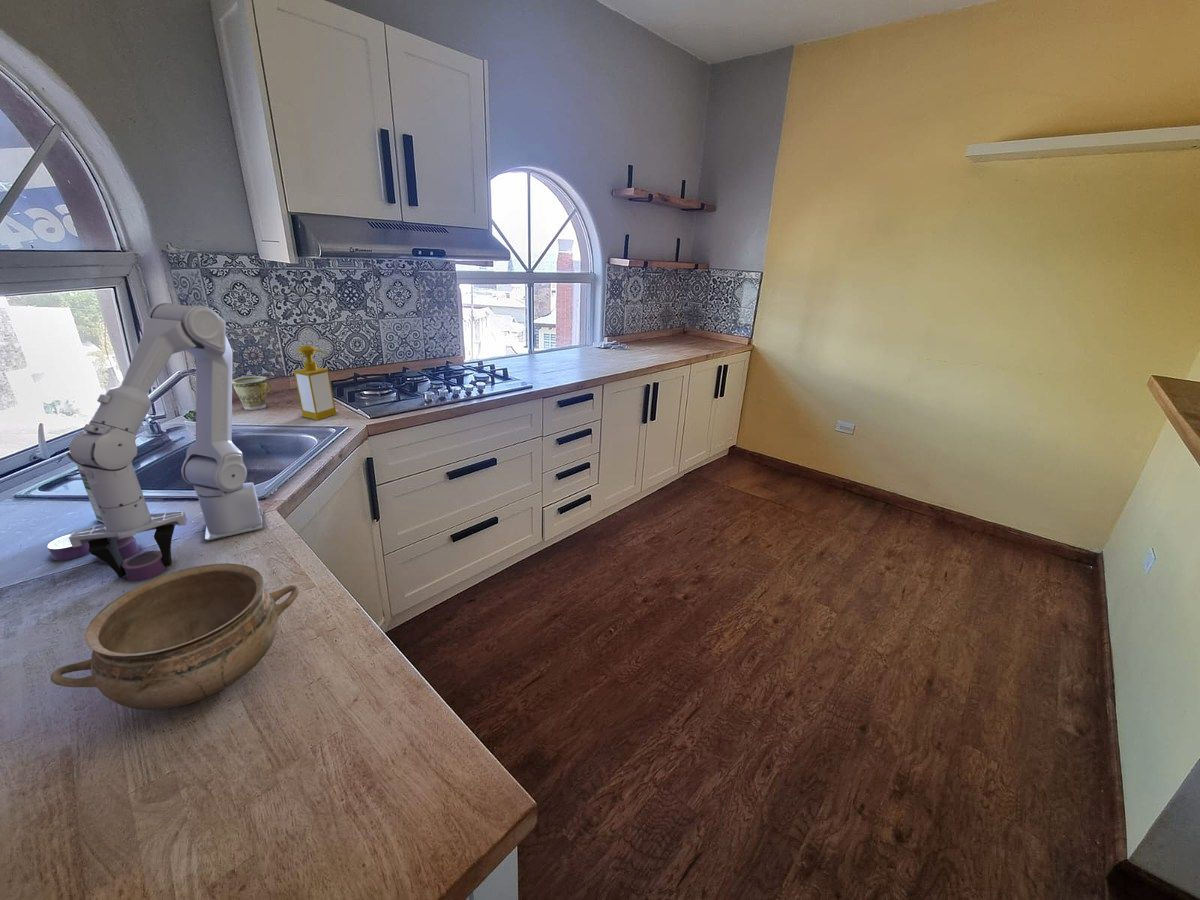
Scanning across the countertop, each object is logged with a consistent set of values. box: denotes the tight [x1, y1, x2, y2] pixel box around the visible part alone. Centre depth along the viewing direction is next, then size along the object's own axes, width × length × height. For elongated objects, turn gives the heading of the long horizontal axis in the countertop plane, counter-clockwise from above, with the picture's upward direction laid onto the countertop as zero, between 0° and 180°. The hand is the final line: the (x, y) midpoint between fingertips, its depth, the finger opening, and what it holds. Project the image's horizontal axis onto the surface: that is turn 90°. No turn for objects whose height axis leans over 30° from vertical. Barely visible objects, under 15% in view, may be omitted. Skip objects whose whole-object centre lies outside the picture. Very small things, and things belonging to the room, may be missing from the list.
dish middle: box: [122, 549, 168, 582], centre depth 88 cm, size 6×6×2 cm
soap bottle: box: [293, 344, 337, 421], centre depth 164 cm, size 7×13×24 cm, turn 65°
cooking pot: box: [50, 562, 300, 711], centre depth 65 cm, size 25×19×12 cm
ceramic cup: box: [232, 375, 272, 411], centre depth 173 cm, size 13×10×10 cm
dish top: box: [46, 533, 90, 562], centre depth 92 cm, size 6×6×2 cm
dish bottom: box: [96, 535, 140, 564], centre depth 92 cm, size 6×6×2 cm
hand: (146, 568), depth 88 cm, fingers closed on dish middle, 5 cm apart
